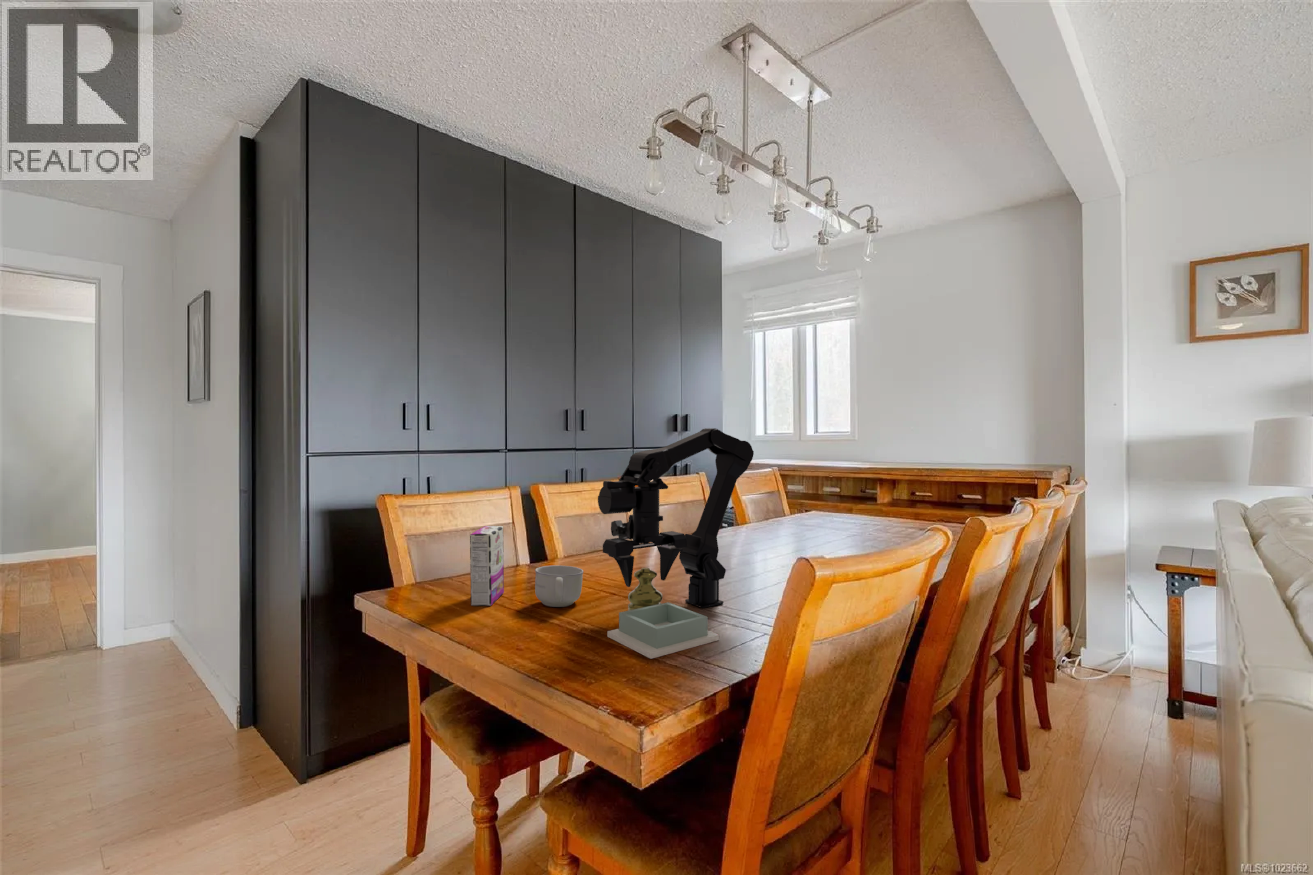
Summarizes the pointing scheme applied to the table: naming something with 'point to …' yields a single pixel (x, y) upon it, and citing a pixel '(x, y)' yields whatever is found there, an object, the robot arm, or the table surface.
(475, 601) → the candy bar box
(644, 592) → the gold rounded piece
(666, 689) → the table surface
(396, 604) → the table surface
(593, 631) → the table surface
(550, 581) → the teacup
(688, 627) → the grey green tray
